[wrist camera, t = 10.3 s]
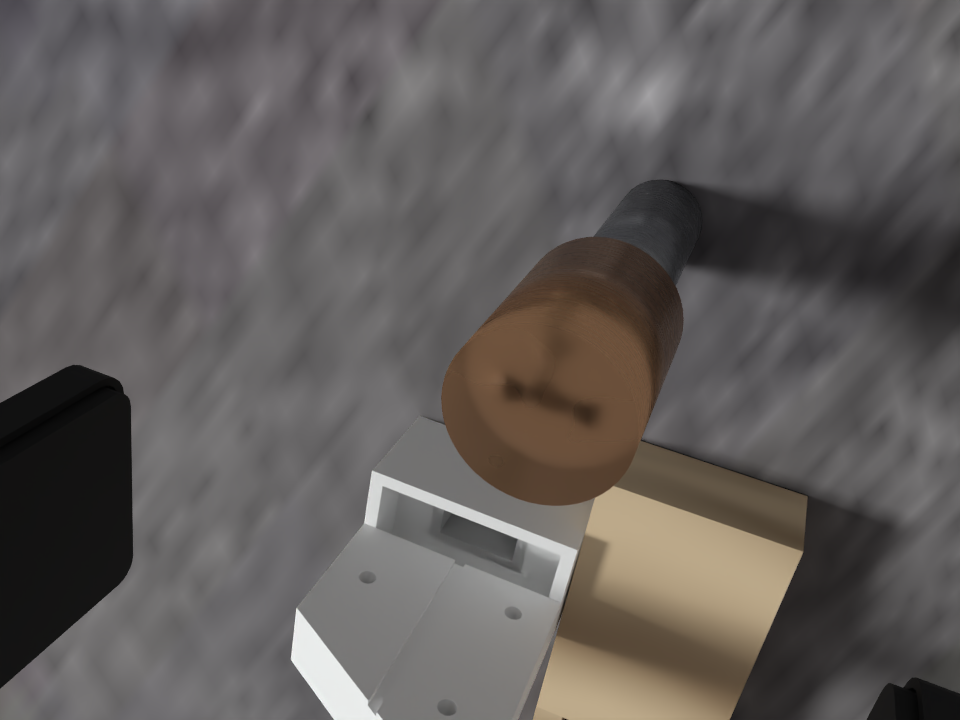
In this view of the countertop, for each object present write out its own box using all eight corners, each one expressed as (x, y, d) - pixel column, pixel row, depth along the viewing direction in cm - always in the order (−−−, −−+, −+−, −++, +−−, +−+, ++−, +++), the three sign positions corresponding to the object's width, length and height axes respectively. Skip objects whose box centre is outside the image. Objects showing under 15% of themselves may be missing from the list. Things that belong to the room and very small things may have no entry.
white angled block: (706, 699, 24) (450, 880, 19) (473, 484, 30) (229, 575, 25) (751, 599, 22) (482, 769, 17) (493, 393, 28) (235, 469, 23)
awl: (613, 144, 21) (456, 297, 13) (739, 176, 21) (662, 361, 12) (585, 261, 23) (429, 467, 14) (703, 295, 22) (611, 532, 14)
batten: (620, 433, 24) (599, 480, 22) (807, 496, 23) (803, 551, 21) (525, 766, 31) (503, 825, 29) (666, 827, 30) (653, 892, 28)
